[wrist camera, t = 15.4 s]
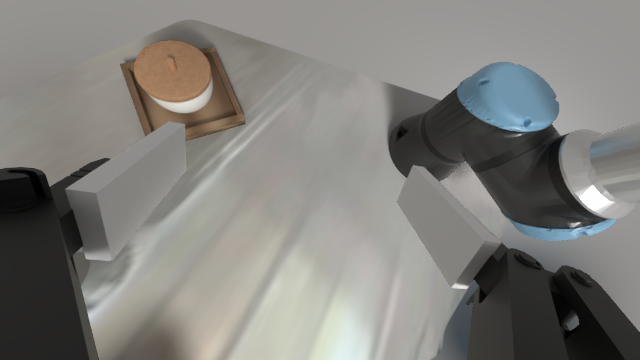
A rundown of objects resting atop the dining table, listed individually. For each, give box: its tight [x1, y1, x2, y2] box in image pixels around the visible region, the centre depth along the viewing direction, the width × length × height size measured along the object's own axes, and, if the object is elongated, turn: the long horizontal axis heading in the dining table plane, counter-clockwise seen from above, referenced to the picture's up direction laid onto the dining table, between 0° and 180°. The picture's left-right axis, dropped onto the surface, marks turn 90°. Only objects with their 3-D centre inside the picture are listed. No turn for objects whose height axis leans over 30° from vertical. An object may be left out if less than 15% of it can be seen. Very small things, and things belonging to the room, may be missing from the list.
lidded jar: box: [134, 40, 213, 113], centre depth 41 cm, size 11×11×9 cm
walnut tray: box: [120, 47, 245, 141], centre depth 45 cm, size 16×16×2 cm
